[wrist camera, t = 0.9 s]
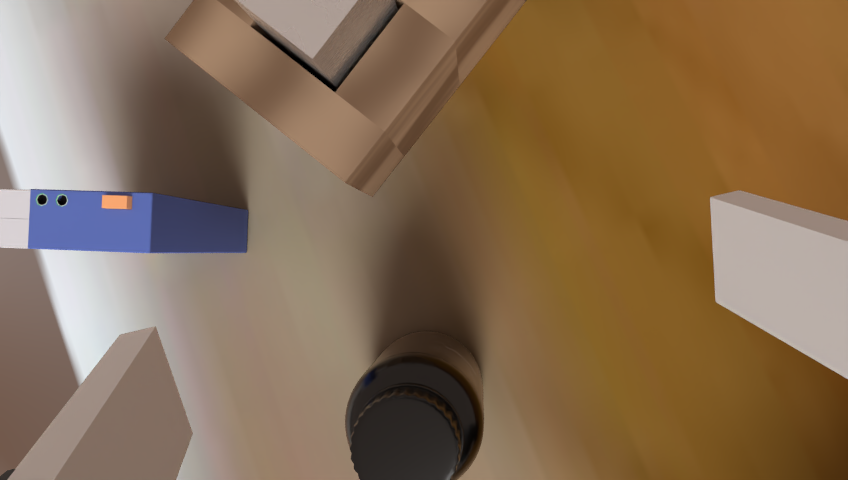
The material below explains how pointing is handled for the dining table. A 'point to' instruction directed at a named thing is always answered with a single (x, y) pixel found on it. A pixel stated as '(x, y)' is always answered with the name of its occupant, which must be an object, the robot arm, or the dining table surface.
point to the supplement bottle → (417, 411)
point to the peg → (323, 31)
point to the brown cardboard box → (349, 78)
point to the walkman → (118, 222)
